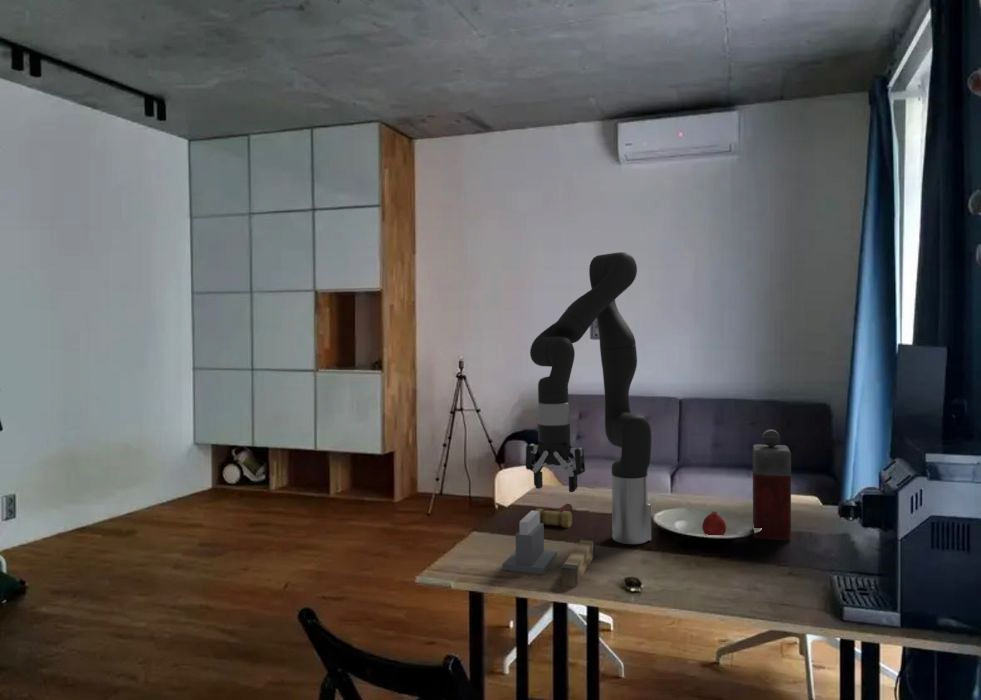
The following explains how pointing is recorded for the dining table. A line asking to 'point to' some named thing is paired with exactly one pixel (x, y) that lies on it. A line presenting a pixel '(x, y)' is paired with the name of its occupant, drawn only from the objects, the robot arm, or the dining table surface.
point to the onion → (714, 524)
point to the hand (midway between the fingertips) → (555, 489)
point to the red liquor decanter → (772, 488)
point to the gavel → (557, 516)
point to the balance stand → (530, 548)
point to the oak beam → (578, 562)
